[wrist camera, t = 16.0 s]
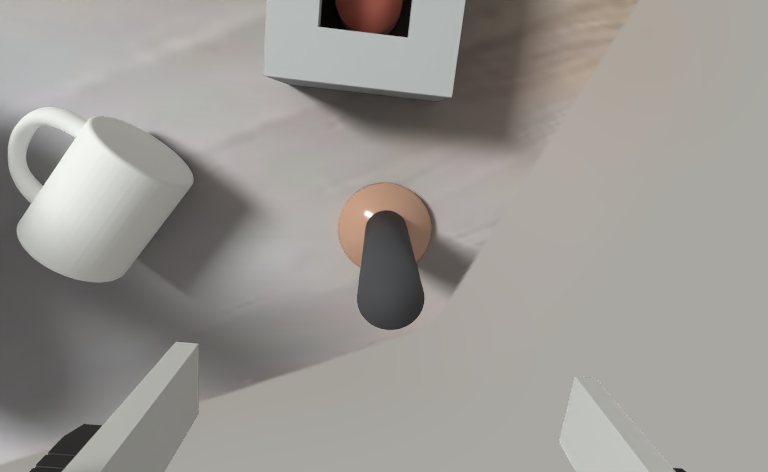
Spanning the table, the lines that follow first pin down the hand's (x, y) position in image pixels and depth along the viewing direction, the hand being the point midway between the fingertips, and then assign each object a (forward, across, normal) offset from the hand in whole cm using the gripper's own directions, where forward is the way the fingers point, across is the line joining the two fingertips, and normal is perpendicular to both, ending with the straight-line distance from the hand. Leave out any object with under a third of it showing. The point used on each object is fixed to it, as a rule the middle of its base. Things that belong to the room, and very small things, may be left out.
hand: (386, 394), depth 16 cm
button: (+23, -2, +17) cm, 28 cm away
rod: (+24, +1, 0) cm, 24 cm away
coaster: (+24, 0, 0) cm, 24 cm away
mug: (+25, -22, +2) cm, 34 cm away
